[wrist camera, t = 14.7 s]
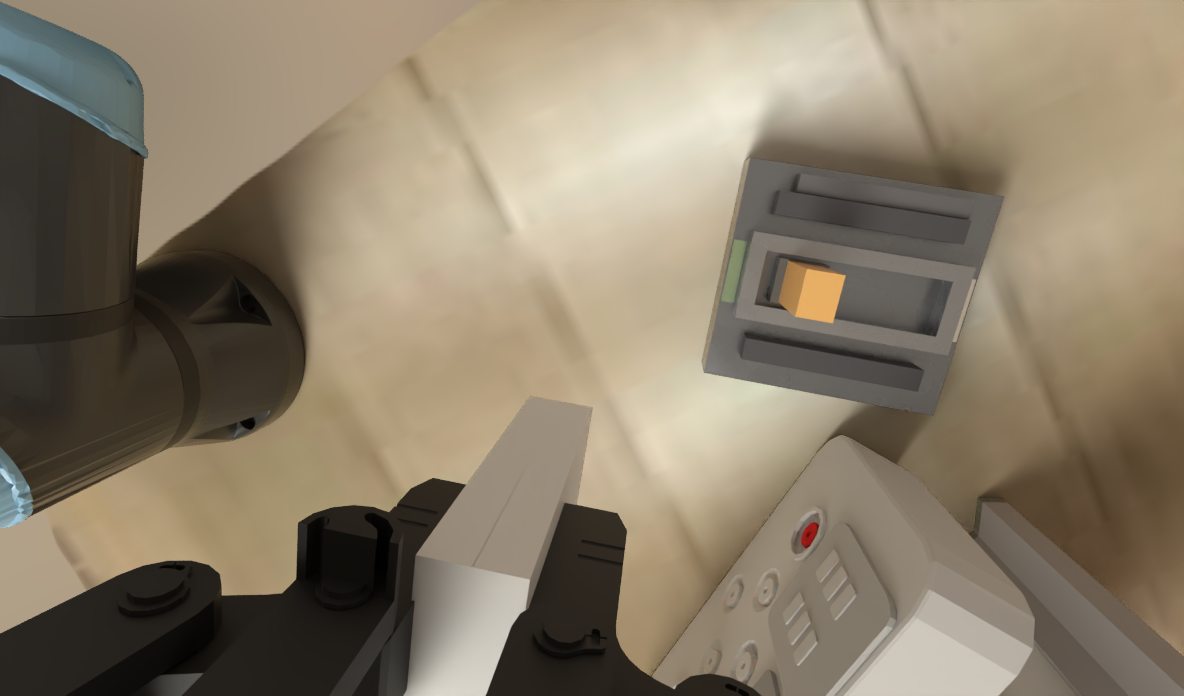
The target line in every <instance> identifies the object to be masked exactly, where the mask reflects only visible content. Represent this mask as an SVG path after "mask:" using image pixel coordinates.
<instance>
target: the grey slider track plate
mask: <svg viewBox="0 0 1184 696" xmlns="http://www.w3.org/2000/svg"><path fill="white" fill-rule="evenodd" d="M974 203H975V200H970V199H963V198H957V197H950V196H944V195H937V194H931V193H925V192H918V191H912V190H905V189H899V188H892V187H886V186H880V185H873V184H867V183H860V182H854V181H847V180H841V179H835V178H828V177H822V176H815V175H809V174H802V173H800V174H797V178H796V182H795V186H794V191H793V192H789V191H782V190H779V191H776V195H775V200H774V204H773V208H772V213H771V214H775V215H782V216H788V217H794V218H800V219H806V220H812V221H819V222H825V223H831V224H837V225H843V226H849V227H856V228H862V229H868V230H874V231H880V232H886V233H892V234H899V235H905V236H911V237H917V238H923V239H929V240H936V241H942V242H948V243H954V244H963V245H964V243H965V240H966V237H967V234H968V231H969V227H970V224H971V221H972V220H969V219H970V216H971V213H972V210H973V206H974ZM965 219H967V220H965ZM739 355H740V357H741V359H743V360H749V361H754V362H759V363H765V364H770V365H775V366H781V367H786V368H792V369H797V370H802V371H808V372H813V373H819V374H824V375H829V376H835V377H840V378H846V379H851V380H856V381H862V382H867V383H873V384H878V385H883V386H889V387H894V388H899V389H905V390H910V391H916V392H918V390H919V387H920V384H921V380H922V377H923V374H924V370H923V369H921V368H920V367H918V366H916V365H913V364H908V363H902V362H897V361H891V360H886V359H880V358H875V357H869V356H864V355H858V354H853V353H847V352H842V351H836V350H830V349H825V348H819V347H814V346H808V345H803V344H797V343H792V342H786V341H781V340H775V339H770V338H764V337H759V336H753V335H748V334H744V335H743V339H742V343H741V348H740V352H739Z"/></svg>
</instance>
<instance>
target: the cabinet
mask: <svg viewBox="0 0 1184 696" xmlns="http://www.w3.org/2000/svg"><path fill="white" fill-rule="evenodd" d="M969 535H970V536H971V537H972V539H973V540H974V541H975V542H976V543H977V544H978V545H979V546H980V547H981V548H982V549H983V551H984V552H985V553H986V554H987V555H988V556H989V557H990V558H991V559H992V560H993V561H994V563H995V564H996V565H997V566H998V567H999V568H1000V569H1001V570H1002V571H1003V572H1004V574H1005V575H1006V576H1007V577H1008V578H1009V579H1010V580H1011V581H1012V582H1013V583H1014V584H1015V586H1016V587H1017V588H1018V589H1019V590H1020V591H1021V592H1022V593H1023V595H1024V597H1025V599H1026V601H1027V603H1028V606H1029V608H1030V610H1031V612H1032V614H1033V616H1034V618H1035V627H1034V643H1033V651H1032V652H1031V654H1030V656H1029V657H1028V659H1027V661H1026V663H1025V664H1024V666H1023V668H1022V669H1021V671H1020V673H1019V675H1018V676H1017V677H1016V678H1015V679H1014V680H1013V681H1012V682H1011V683H1010V684H1009V685H1008V686H1007V687H1006V688H1005V689H1004V691H1003V692H1002V693H1001V694H1000V695H999V696H1184V656H1182V655H1181V654H1180V653H1179V652H1178V651H1177V650H1176V649H1174V648H1173V647H1172V646H1171V645H1170V644H1169V643H1168V642H1166V641H1165V640H1164V639H1163V638H1162V637H1161V636H1160V635H1158V634H1157V633H1156V632H1155V631H1154V630H1153V629H1152V628H1150V627H1149V626H1148V625H1147V624H1146V623H1145V622H1143V621H1142V620H1141V619H1140V618H1139V617H1138V616H1137V615H1135V614H1134V613H1133V612H1132V611H1131V610H1130V609H1129V608H1127V607H1126V606H1125V605H1124V604H1123V603H1122V602H1121V601H1119V600H1118V599H1117V598H1116V597H1115V596H1114V595H1113V594H1111V593H1110V592H1109V591H1108V590H1107V589H1106V588H1105V587H1103V586H1102V585H1101V584H1100V583H1099V582H1098V581H1096V580H1095V579H1094V578H1093V577H1092V576H1091V575H1090V574H1088V573H1087V572H1086V571H1085V570H1084V569H1083V568H1082V567H1080V566H1079V565H1078V564H1077V563H1076V562H1075V561H1074V560H1072V559H1071V558H1070V557H1069V556H1068V555H1067V554H1066V553H1064V552H1063V551H1062V550H1061V549H1060V548H1059V547H1058V546H1056V545H1055V544H1054V543H1053V542H1052V541H1051V540H1050V539H1048V538H1047V537H1046V536H1045V535H1044V534H1043V533H1041V532H1040V531H1039V530H1038V529H1037V528H1036V527H1035V526H1033V525H1032V524H1031V523H1030V522H1029V521H1028V520H1027V519H1025V518H1024V517H1023V516H1022V515H1021V514H1020V513H1019V512H1017V511H1016V510H1015V509H1014V508H1013V507H1012V506H1011V505H1009V504H1008V503H1007V502H1006V501H1005V500H1004V499H1003V498H981V497H978V502H977V510H976V518H975V525H974V531H973V532H972V533H970V534H969Z"/></svg>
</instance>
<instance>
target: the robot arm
mask: <svg viewBox="0 0 1184 696" xmlns="http://www.w3.org/2000/svg"><path fill="white" fill-rule="evenodd" d="M143 111H144V95H143V88H142V84H141V82H140V80H139V78H138V76H137V74H136V73H135V71H134V70H133V69H132V67H131V66H130V65H129V64H128V63H127V62H126V61H125V60H124V59H122V58H121V57H120V56H119V55H117V54H116V53H114V52H113V51H111V50H109V49H107V48H106V47H104V46H102V45H100V44H98V43H96V42H93V41H91V40H89V39H87V38H85V37H82V36H80V35H78V34H76V33H74V32H71V31H69V30H67V29H64V28H62V27H60V26H57V25H55V24H53V23H50V22H48V21H45V20H43V19H41V18H38V17H36V16H34V15H31V14H29V13H26V12H24V11H22V10H19V9H17V8H14V7H11V6H9V5H7V4H4V3H2V2H0V528H5V527H11V526H14V525H17V524H19V523H20V522H22V521H23V520H26V519H27V517H30V516H31V515H34V514H36V513H38V512H40V511H42V510H44V509H46V508H48V507H50V506H52V505H54V504H56V503H58V502H60V501H62V500H64V499H66V498H68V497H70V496H72V495H74V494H76V493H78V492H80V491H82V490H84V489H87V488H89V487H91V486H93V485H95V484H97V483H99V482H101V481H103V480H105V479H107V478H109V477H111V476H113V475H115V474H117V473H119V472H121V471H123V470H125V469H127V468H129V467H131V466H133V465H135V464H137V463H139V462H141V461H143V460H145V459H147V458H149V457H151V456H153V455H155V454H157V453H159V452H162V451H164V450H166V449H168V448H173V447H183V446H192V445H202V444H211V443H221V442H228V441H233V440H236V439H239V438H243V437H245V436H248V435H250V434H252V433H254V432H256V431H257V430H259V429H261V428H263V427H265V426H267V425H269V424H270V423H272V422H274V421H275V420H276V419H278V418H279V417H280V416H281V415H282V414H283V413H284V412H285V411H286V410H287V409H288V407H289V406H290V405H291V403H292V402H293V400H294V398H295V396H296V394H297V392H298V390H299V387H300V384H301V380H302V376H303V369H304V349H303V342H302V337H301V333H300V329H299V326H298V323H297V321H296V318H295V316H294V314H293V312H292V310H291V308H290V306H289V305H288V303H287V301H286V300H285V298H284V297H283V295H282V294H281V293H280V291H279V290H278V289H277V288H276V287H275V285H274V284H273V283H272V282H271V281H270V280H269V279H268V278H267V277H265V276H264V275H263V274H262V273H261V272H259V271H258V270H257V269H256V268H254V267H252V266H251V265H249V264H248V263H246V262H244V261H242V260H240V259H238V258H236V257H233V256H231V255H228V254H224V253H221V252H216V251H209V250H194V251H182V252H172V253H167V254H162V255H159V256H156V257H153V258H150V259H148V260H146V261H144V262H142V263H140V264H138V265H137V266H136V264H137V263H136V262H137V246H138V245H137V244H138V233H139V219H140V206H141V192H142V180H143V166H144V158H148V150H147V148H146V146H145V145H144V132H143V121H144V120H143V118H144V114H143V113H144V112H143ZM592 408H593V407H587V406H582V405H577V404H571V403H566V402H561V401H555V400H550V399H545V398H540V397H534V396H530V397H529V398H528V400H527V401H526V402H525V404H524V405H523V406H522V408H521V409H520V411H519V412H518V413H517V415H516V416H515V418H514V419H513V420H512V422H511V423H510V425H509V426H508V427H507V429H506V430H505V432H504V433H503V434H502V436H501V437H500V438H499V440H498V441H497V443H496V444H495V445H494V447H493V448H492V450H491V451H490V452H489V454H488V455H487V457H486V458H485V459H484V461H483V462H482V464H481V465H480V466H479V468H478V469H477V470H476V472H475V473H474V475H473V476H472V477H471V479H470V480H469V482H468V483H467V484H466V485H465V484H460V483H455V482H450V481H445V480H440V479H435V478H432V479H430V480H428V481H426V482H424V483H422V484H420V485H417V486H415V487H413V488H411V489H410V490H409V491H408V492H407V494H406V495H405V496H404V497H403V498H402V499H401V500H400V501H399V502H398V504H397V507H394V508H393V509H392V510H391V511H390V512H386V511H383V510H380V509H377V508H375V507H367V506H356V505H352V506H342V507H333V508H329V509H326V510H323V511H320V512H316V513H313V514H312V515H310V516H308V517H307V518H305V519H304V520H302V521H300V522H299V523H298V544H297V575H296V580H295V581H294V582H293V583H292V584H291V585H290V586H289V587H288V588H287V589H286V590H285V591H284V592H283V593H282V594H270V595H231V596H222V592H221V580H220V574H219V573H218V572H216V571H215V570H214V569H213V568H212V567H210V566H209V565H206V564H202V563H198V562H194V561H165V562H160V563H155V564H150V565H145V566H141V567H139V568H136V569H133V570H131V571H128V572H126V573H123V574H120V575H118V576H116V577H114V578H112V579H110V580H108V581H106V582H104V583H102V584H100V585H98V586H96V587H94V588H92V589H90V590H88V591H86V592H84V593H82V594H80V595H78V596H76V597H73V598H72V599H69V600H67V601H65V602H63V603H61V604H59V605H57V606H55V607H53V608H51V609H49V610H47V611H45V612H43V613H41V614H39V615H37V616H35V617H33V618H31V619H29V620H27V621H25V622H23V623H21V624H19V625H17V626H15V627H13V628H11V629H9V630H7V631H5V632H3V633H1V634H0V696H762V695H760V694H759V693H758V692H757V691H756V690H754V689H753V688H752V687H750V686H748V685H746V684H744V683H741V682H739V681H737V680H735V679H733V678H731V677H726V676H721V675H716V674H710V673H709V674H702V675H695V676H690V677H689V678H687V679H686V680H684V681H682V682H681V683H679V684H678V685H676V687H675V689H673V688H671V687H669V686H667V685H665V684H663V683H661V682H659V681H657V680H656V679H654V678H652V677H651V676H649V675H647V674H646V673H644V672H643V671H641V670H640V669H639V668H638V667H637V666H635V665H634V664H633V663H632V662H631V661H630V660H629V659H628V657H627V656H626V655H625V653H624V652H623V650H622V649H621V647H620V645H619V642H618V639H617V637H616V619H617V610H618V602H619V593H620V585H621V576H622V568H623V567H622V566H623V559H624V550H625V543H626V534H627V530H626V528H625V526H624V524H623V522H622V521H621V519H620V517H619V515H618V513H613V512H608V511H603V510H599V509H594V508H589V507H584V506H579V505H577V500H578V494H579V488H580V482H581V476H582V469H583V463H584V457H585V451H586V445H587V439H588V433H589V427H590V421H591V414H592Z"/></svg>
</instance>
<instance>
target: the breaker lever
mask: <svg viewBox="0 0 1184 696" xmlns="http://www.w3.org/2000/svg"><path fill="white" fill-rule="evenodd" d="M829 268H830V266H828V265H826V264H820V263H814V262H808V261H803V260H797V259H791V258H785V257H779V256H777V258H776V262H775V267H774V271H773V275H772V279H771V284H770V288H769V292H768V296H767V300H768V301H769V302H772V303H777V304H781V305H782V306H783V307H785V308H786V309H787V310H788V311H789V312H790V313H791V314H793V315H794V316H795V317H800V318H805V319H811V320H817V321H822V322H828V323H833V321H834V317H835V313H836V310H837V306H838V302H839V298H840V295H841V291H842V287H843V283H844V280H845V276H846V275H843V274H840V273H838V272H835V271H833V270H830V269H829Z"/></svg>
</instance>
